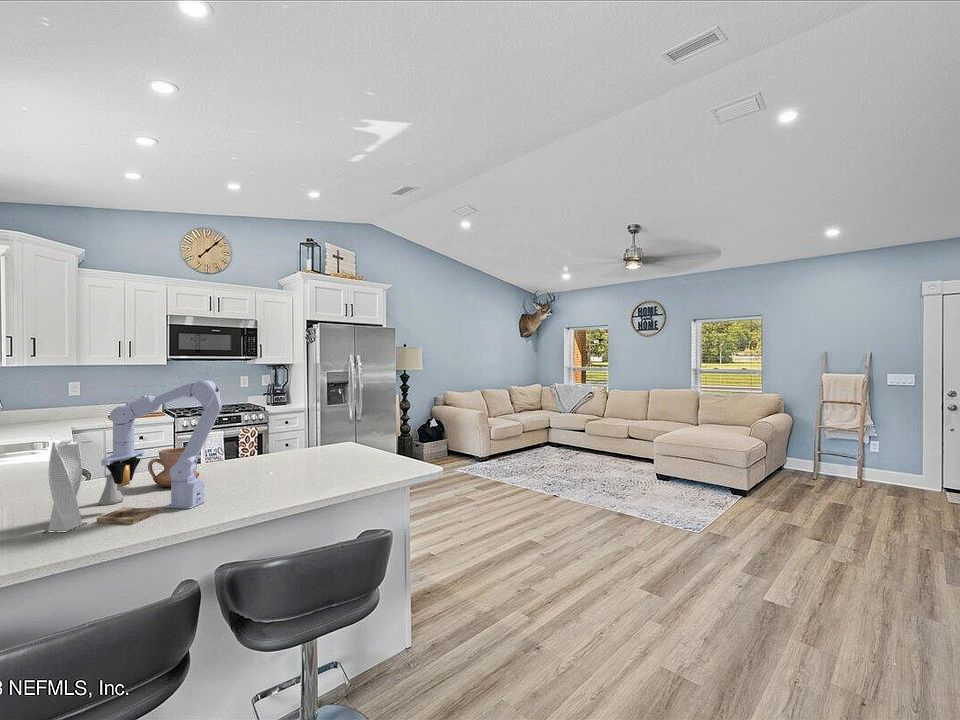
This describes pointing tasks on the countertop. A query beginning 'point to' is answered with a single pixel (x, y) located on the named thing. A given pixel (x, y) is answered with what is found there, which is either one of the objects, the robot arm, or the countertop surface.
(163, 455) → the ceramic jug
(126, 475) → the orange upright cylinder
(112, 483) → the flask
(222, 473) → the countertop surface
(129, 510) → the wooden tray
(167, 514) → the countertop surface
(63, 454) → the skyscraper
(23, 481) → the countertop surface
